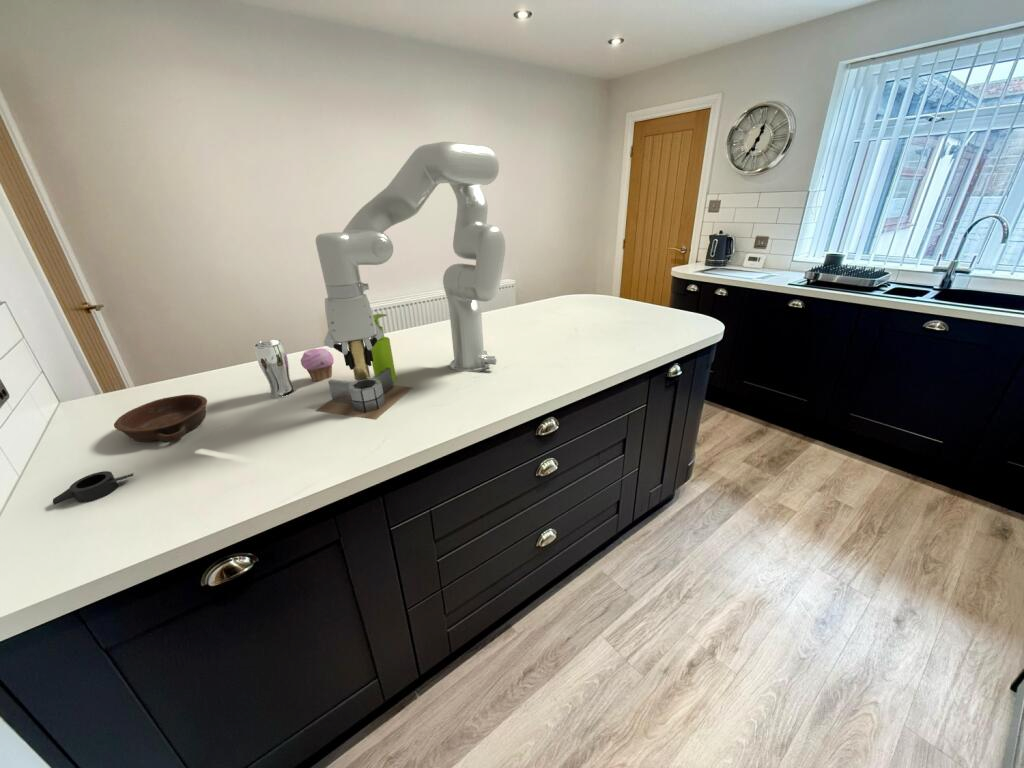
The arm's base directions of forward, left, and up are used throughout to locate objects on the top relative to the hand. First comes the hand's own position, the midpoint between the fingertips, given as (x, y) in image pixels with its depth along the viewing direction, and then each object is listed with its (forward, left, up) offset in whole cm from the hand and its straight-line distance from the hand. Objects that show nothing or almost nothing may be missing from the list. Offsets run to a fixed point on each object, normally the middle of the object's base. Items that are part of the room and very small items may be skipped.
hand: (360, 365), depth 96 cm
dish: (+43, +20, -13) cm, 49 cm away
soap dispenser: (+5, -16, -12) cm, 21 cm away
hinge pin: (0, 0, -3) cm, 3 cm away
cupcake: (+25, -12, -12) cm, 30 cm away
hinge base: (+3, -3, -12) cm, 13 cm away
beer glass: (+30, -2, -12) cm, 32 cm away
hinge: (+3, -4, -11) cm, 12 cm away
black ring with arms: (+32, +41, -13) cm, 53 cm away
